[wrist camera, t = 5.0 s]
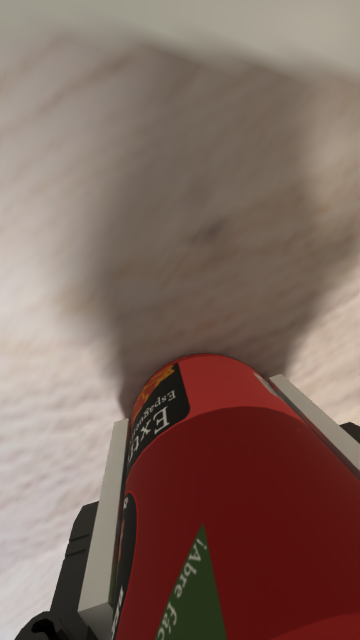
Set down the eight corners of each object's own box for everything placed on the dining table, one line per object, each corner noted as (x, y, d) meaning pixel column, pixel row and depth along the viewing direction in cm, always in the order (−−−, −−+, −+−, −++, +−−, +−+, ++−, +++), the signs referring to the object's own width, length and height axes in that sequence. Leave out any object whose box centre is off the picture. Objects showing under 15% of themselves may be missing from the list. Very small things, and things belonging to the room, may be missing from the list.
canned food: (142, 339, 11) (82, 1343, 1) (282, 356, 13) (879, 811, 2) (124, 459, 13) (39, 1213, 3) (247, 462, 15) (491, 967, 4)
